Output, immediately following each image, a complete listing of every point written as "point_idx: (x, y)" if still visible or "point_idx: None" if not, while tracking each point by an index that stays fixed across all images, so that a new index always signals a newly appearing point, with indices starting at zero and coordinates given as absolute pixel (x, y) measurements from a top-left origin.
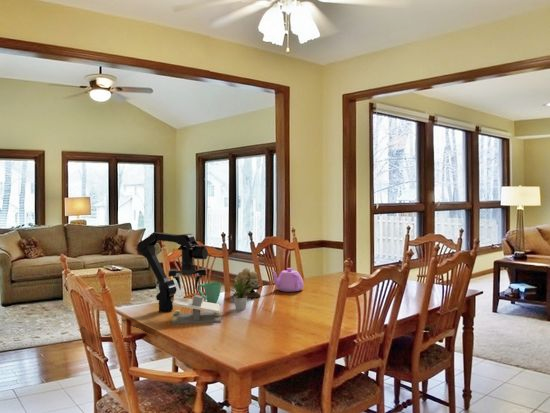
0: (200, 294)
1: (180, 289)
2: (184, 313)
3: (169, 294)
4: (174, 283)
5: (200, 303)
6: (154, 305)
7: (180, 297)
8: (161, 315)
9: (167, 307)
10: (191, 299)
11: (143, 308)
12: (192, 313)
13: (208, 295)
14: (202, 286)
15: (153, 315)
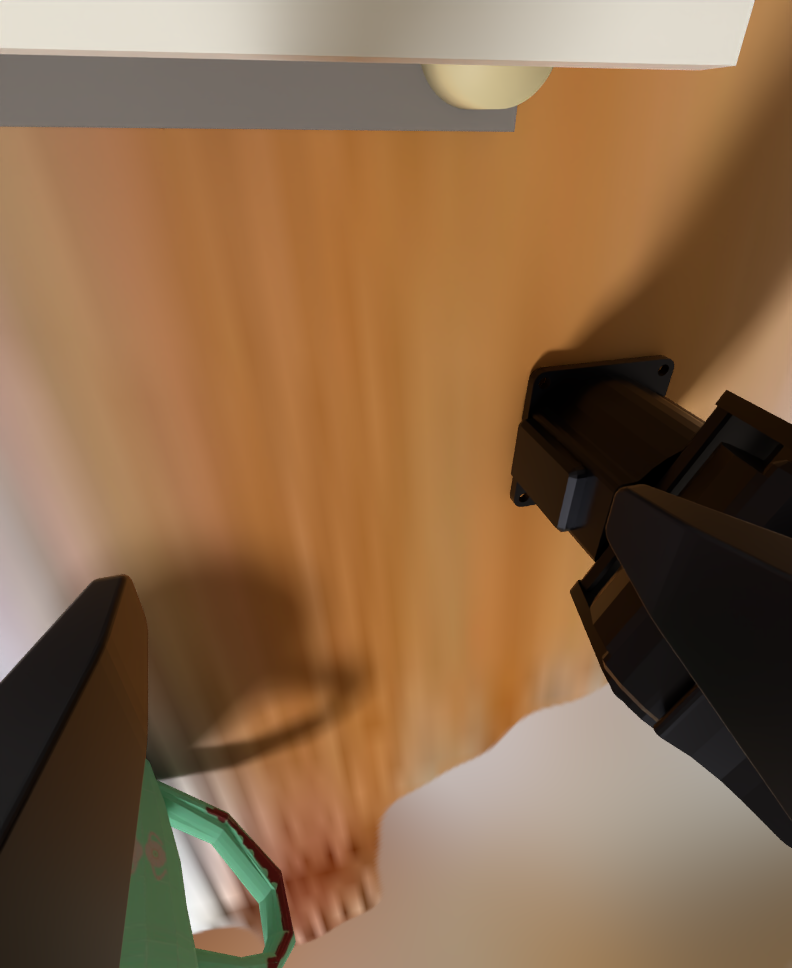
0: (251, 841)
1: (623, 488)
2: (340, 117)
3: (738, 455)
4: (725, 780)
5: None
6: None
7: (574, 48)
8: (661, 190)
9: (599, 402)
10: (169, 15)
11: None
12: (175, 82)
13: None
14: (227, 956)
15: (746, 207)
